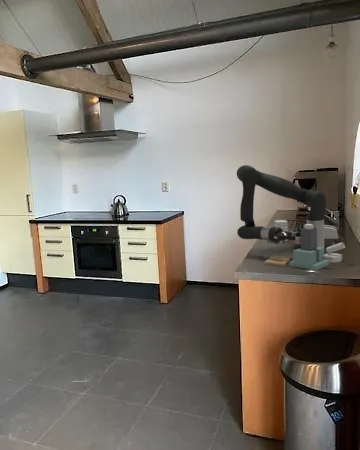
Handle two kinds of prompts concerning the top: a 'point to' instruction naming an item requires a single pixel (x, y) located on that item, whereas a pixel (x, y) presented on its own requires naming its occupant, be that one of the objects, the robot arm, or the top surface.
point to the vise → (310, 256)
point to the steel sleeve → (309, 239)
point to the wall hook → (334, 256)
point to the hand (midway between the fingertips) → (299, 236)
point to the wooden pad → (277, 261)
